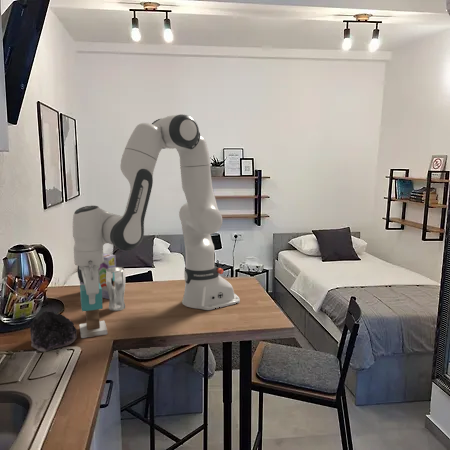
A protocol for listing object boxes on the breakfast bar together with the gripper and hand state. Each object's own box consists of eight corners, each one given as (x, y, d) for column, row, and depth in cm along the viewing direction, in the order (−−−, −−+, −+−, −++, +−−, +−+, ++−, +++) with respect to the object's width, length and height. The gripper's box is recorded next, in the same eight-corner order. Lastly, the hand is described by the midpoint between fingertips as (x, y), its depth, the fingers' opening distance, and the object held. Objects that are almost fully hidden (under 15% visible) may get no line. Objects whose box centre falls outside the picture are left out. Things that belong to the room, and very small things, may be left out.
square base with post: (104, 324, 138) (103, 300, 137) (107, 334, 131) (106, 308, 129) (79, 328, 135) (78, 303, 134) (81, 338, 128) (79, 312, 126)
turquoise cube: (100, 302, 135) (99, 283, 134) (102, 308, 130) (101, 288, 129) (80, 304, 133) (79, 285, 132) (82, 311, 127) (80, 291, 126)
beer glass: (121, 312, 149) (119, 272, 146) (103, 310, 150) (101, 271, 148) (129, 305, 156) (128, 267, 153) (112, 304, 157) (110, 266, 154)
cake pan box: (77, 292, 170) (75, 251, 167) (87, 289, 175) (85, 249, 172) (110, 301, 160) (108, 257, 157) (119, 297, 165) (117, 254, 162)
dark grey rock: (74, 352, 120) (76, 319, 120) (24, 354, 117) (25, 320, 116) (78, 336, 133) (79, 306, 133) (32, 337, 130) (33, 307, 129)
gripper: (103, 264, 120) (105, 309, 123) (96, 250, 139) (98, 289, 141) (80, 266, 118) (82, 312, 120) (76, 251, 137) (79, 291, 139)
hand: (91, 299), depth 131 cm, fingers closed on turquoise cube, 6 cm apart
